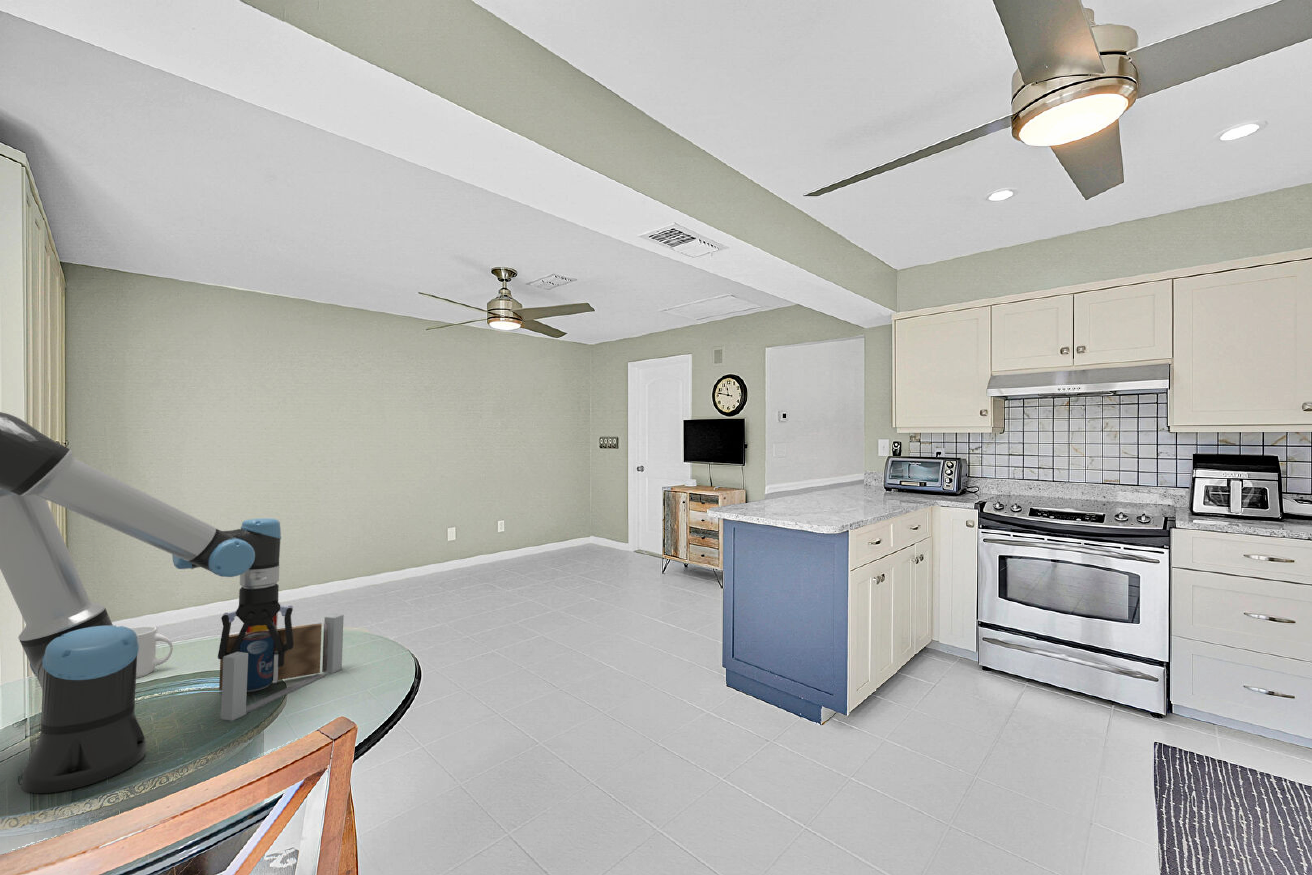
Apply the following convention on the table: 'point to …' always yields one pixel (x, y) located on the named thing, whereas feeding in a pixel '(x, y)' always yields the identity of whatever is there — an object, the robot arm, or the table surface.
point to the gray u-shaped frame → (237, 691)
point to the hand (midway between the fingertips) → (255, 683)
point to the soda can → (259, 659)
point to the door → (296, 651)
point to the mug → (149, 649)
